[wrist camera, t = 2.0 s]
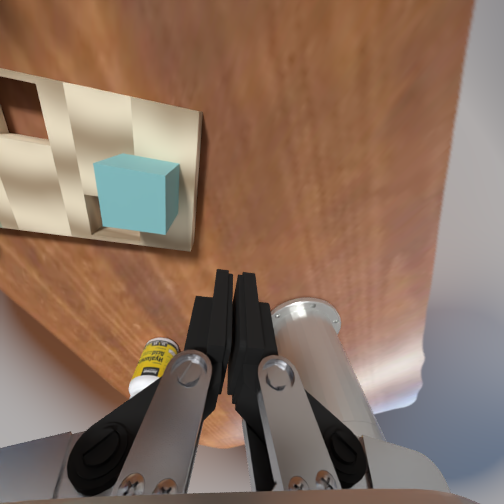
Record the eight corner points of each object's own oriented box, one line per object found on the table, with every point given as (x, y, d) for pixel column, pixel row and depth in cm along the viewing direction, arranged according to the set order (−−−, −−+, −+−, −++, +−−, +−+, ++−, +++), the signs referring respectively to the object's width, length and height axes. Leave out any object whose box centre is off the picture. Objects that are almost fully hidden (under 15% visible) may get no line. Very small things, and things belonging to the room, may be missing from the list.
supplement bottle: (171, 333, 37) (152, 398, 28) (183, 353, 39) (169, 417, 31) (139, 339, 37) (111, 405, 29) (154, 359, 40) (132, 424, 31)
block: (178, 213, 24) (165, 234, 19) (127, 205, 23) (102, 226, 19) (179, 163, 21) (165, 175, 17) (122, 153, 20) (92, 163, 16)
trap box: (193, 241, 28) (185, 266, 24) (-41, 210, 25) (-105, 232, 20) (202, 112, 21) (193, 111, 17) (-124, 41, 18) (-251, 14, 13)
